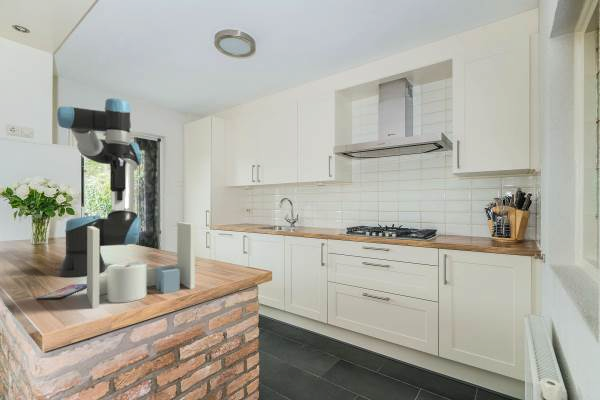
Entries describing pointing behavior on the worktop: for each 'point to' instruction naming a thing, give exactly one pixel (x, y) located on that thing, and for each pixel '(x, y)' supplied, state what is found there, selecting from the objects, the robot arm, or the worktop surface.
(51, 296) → the smartphone
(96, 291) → the panel frame
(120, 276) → the toilet tissue
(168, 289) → the paddle block
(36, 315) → the worktop surface
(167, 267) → the paddle block
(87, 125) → the robot arm
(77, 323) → the worktop surface
